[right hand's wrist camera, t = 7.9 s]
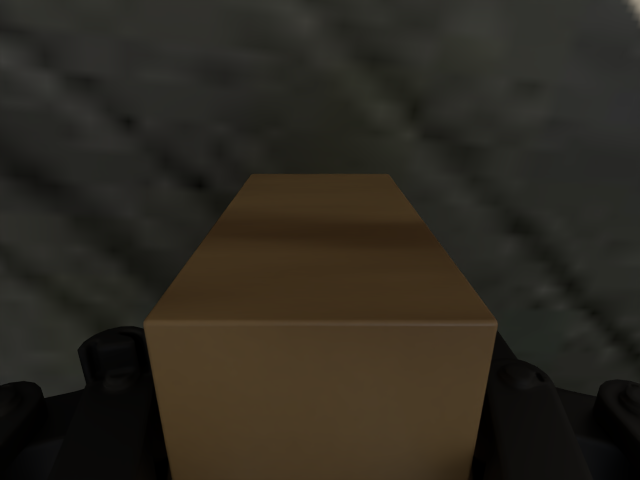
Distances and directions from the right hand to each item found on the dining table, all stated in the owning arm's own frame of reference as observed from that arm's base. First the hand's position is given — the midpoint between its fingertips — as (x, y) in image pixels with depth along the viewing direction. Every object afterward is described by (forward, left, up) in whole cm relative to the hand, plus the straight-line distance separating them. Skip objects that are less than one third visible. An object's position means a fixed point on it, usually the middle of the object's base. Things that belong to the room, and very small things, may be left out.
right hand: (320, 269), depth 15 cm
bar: (+8, +2, -1) cm, 9 cm away
